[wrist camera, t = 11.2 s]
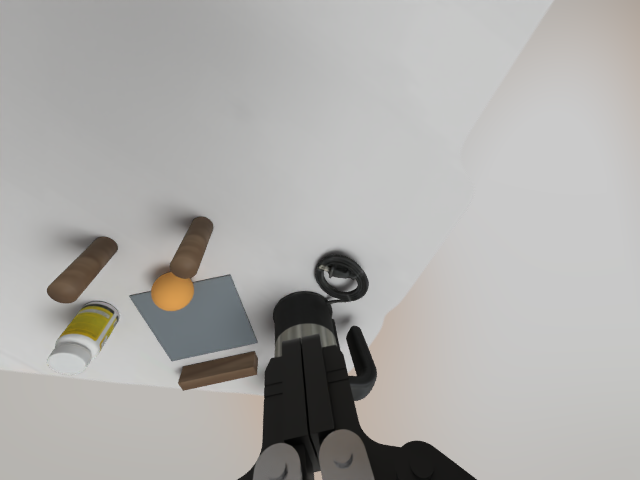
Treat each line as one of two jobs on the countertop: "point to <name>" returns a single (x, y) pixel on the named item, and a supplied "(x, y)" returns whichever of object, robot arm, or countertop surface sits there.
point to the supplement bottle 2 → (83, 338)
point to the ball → (172, 292)
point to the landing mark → (199, 320)
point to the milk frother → (328, 319)
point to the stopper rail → (218, 370)
